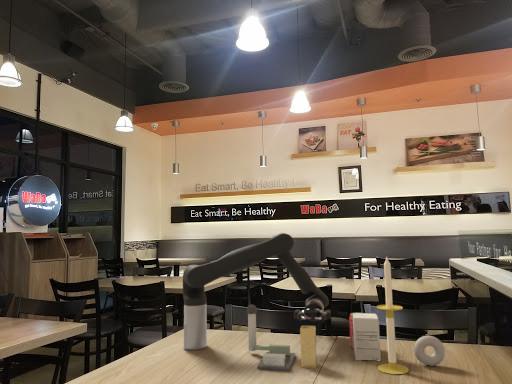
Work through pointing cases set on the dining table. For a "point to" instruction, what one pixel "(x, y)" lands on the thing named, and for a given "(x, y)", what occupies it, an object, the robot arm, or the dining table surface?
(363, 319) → the supplement box
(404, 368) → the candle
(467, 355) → the dining table surface
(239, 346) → the dining table surface
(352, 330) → the soda can
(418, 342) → the donut
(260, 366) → the base
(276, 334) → the dining table surface
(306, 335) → the brass block
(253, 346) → the sliding jaw
